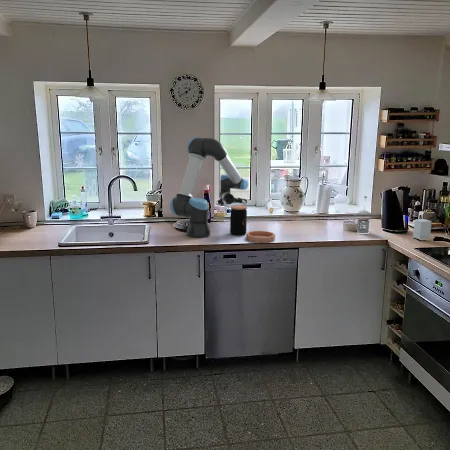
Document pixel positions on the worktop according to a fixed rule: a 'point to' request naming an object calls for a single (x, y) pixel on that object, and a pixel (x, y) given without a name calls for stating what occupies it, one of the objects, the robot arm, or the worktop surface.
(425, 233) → the supplement box
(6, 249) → the worktop surface
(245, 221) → the coffee jar
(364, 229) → the french press
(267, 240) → the round tray
